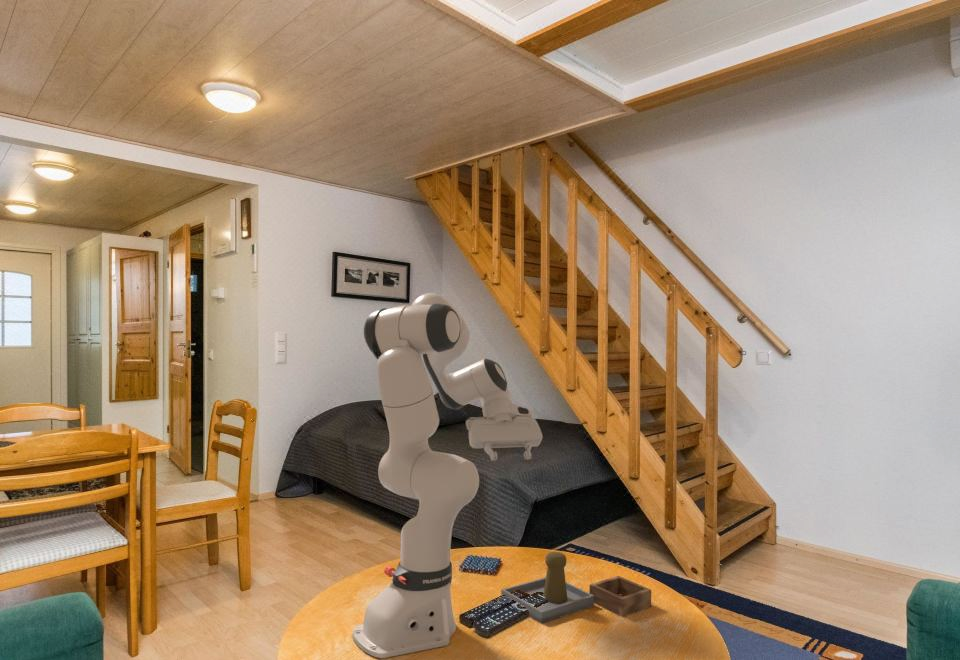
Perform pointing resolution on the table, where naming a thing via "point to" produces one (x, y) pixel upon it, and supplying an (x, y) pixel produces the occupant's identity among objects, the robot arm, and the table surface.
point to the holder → (632, 592)
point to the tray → (551, 611)
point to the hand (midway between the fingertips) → (511, 458)
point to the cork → (555, 578)
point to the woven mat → (480, 564)
